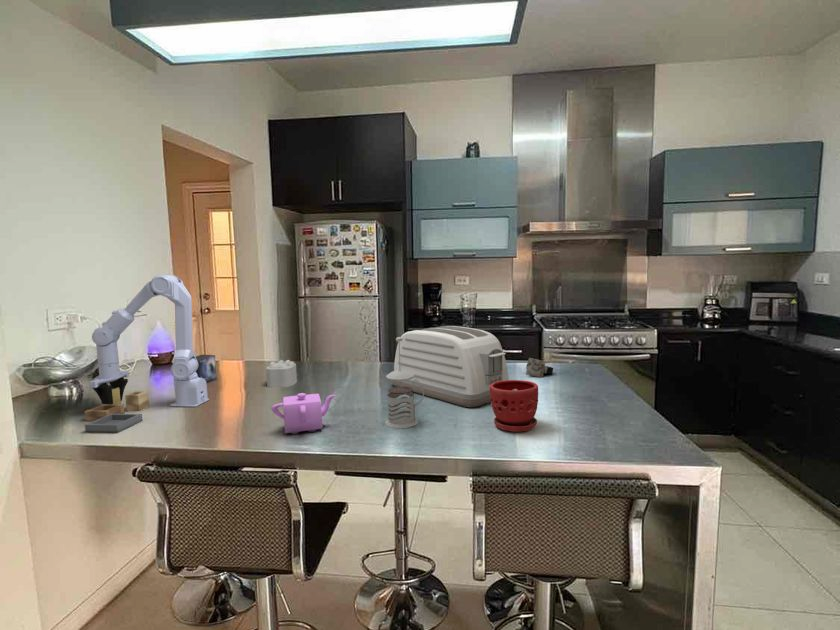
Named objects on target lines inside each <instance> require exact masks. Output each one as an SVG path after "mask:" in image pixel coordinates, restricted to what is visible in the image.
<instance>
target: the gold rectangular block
mask: <svg viewBox="0 0 840 630" xmlns="http://www.w3.org/2000/svg"><path fill="white" fill-rule="evenodd" d="M121 402H122V401H121V399H120V389H119V387H112V390H111V404H122V403H121Z"/></svg>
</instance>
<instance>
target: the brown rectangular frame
mask: <svg viewBox="0 0 840 630" xmlns="http://www.w3.org/2000/svg"><path fill="white" fill-rule="evenodd" d="M124 405H125V404H122V403H121V404H102V403H101V404H100V405H98V406H95V407H92V408H90V409H87V410H84V418H85V419H84V420H85V422H93V421H95V420H98V419H100V418H103V417H105V416H107V415H110V414H125V408H124V407H125V406H124Z"/></svg>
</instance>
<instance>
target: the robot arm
mask: <svg viewBox="0 0 840 630" xmlns="http://www.w3.org/2000/svg"><path fill="white" fill-rule="evenodd" d="M158 296H162V297H165V298H167V300H170V302H171V303H173V304H174V326H175V328H174V329H175V335H174V336H175V353H174V355H173V363H172V365H171V368H170V374H171V376H172V377H173V384H174V394H175V402H173V403H171V404H169V406H170V407H193V408H194V407H198V406H200V405H202V404H204V403H206V402H208V401H210V398H208V397H209V395H208V387H207V386H208V383H206V381H205V379H203V378H199V377H198V375H197V373H196V370H197V369H198V361H197V359H196V352H195V350H194V349H193V347H194V346H193V345H194V342H193V341H194V340H193V338H194V337H193V298H192V296H191V294H190V292H189V291H188V289H187V288H186V287H185V285H184V282H183V280H182V279H181V278H179V277H177V276H176V275H175V274H158V275H154V277H153V278H152V279H151V280H150V281H148V282H147V283H146V284H145V285H144V286H143V287H142V289H140V291H139V292H138V293H137V294H136V295H134V297H133V299H132V300H131V301H130V302H129V303H128V305H126V307H125V308H118V309H117V310H113V311H112V312H111V316H110V317H109V318H108V319H107V320H106V321H104V322H102V323H101V327H97V328H95V329H94V331H93V332H92V335H91V339H92V342H93V343H94V344H95V345H96V346H95V347H96V357H97V366H98V375H99V376H97V377H96V378H95V379H93V380H91V381H89V388H91V389H93V391H94V392H95V393H96V394H97V395H98V398H99V399H100V402H101V405H102V404H111V390H112V387H119V389H120V399H121V402H122V401H123V398H124V393H125V389H126V387H127V384H128V382H129V379H128V378H129V377H130V371H128V370H124V371H121V370H120V361H119V360H120V359H119V349H118V340H119V339H120V338H121V335H122V334H123V333H124V332H125V331H126V330H127V328H128V327H129V326H130V325H131V324H132V323H133V322H135V314H136V313H138V312H139V310H141V309H142V308H143V306H145V305H146V304H147V303H148V302H149V301H150V300H152V298H154V297H158Z"/></svg>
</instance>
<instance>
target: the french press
mask: <svg viewBox="0 0 840 630" xmlns="http://www.w3.org/2000/svg"><path fill="white" fill-rule="evenodd" d="M395 341H396V342H399V365H400V341H402V338H401V336H398V337H396V338H395ZM413 377H414V374H412V373H411V372H408V371H406V370H396V371H394V370H393V371H391V372H390V373H388V374H387V375H386V376H385V378H386V379H387V380H388V381H391V380H393V381H400V386H396V387H395V386H392V387H390V388H389V389H387V392H388V393H387V397H386V398H387V419H386V420H385V421H384V425H385V426H387V427H389V428H393V429H394V428H395V429H405V428H406V429H408V428H411V427H414V426H416V425H418V423H419V420H418V418H417V417H416V407H417V406H418V405H420V404H421V403H423V400H424V397H425V395H424V388H423V386H422V384H421V383H420V382H419V381H418V382H419V383H420V384H419V383H418V382H416V381H417V380H416V381H415V380H414V381H413V385H414V382H416V383H418V384H419V385H420V386H421V388H422V390H423V394H422V397H421V399H420V400H419V401H417V402H415V392H412V391H413V389H412V388H411V387H402V386H401V381H404V380H409V379H412V378H413ZM405 395H406V396H405ZM407 396H409V397H407Z"/></svg>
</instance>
